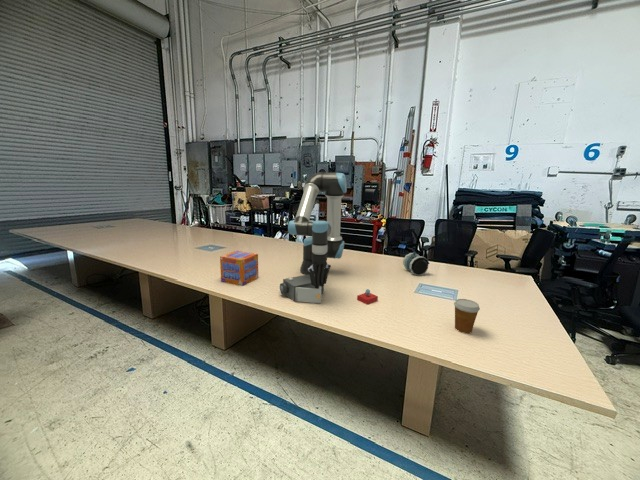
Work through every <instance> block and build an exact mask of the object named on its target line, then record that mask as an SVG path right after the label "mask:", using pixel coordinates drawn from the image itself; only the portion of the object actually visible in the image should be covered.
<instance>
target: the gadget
mask: <svg viewBox="0 0 640 480" xmlns="http://www.w3.org/2000/svg"><path fill="white" fill-rule="evenodd" d="M429 264H430V261H429V259H427V258H426V257H424V256H422V255H421V256H420V255H419V254H418V253H417V252H416V251H413V252H409V253H408V254H405V256H404V257H403V259H402V265H403V266H404V268H405V270H407V271H409V272H411V273H412V274H413V275H415V276H422V275H424V274H425V273H426V272H427V271H428V269H429Z"/></svg>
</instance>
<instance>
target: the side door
mask: <svg viewBox="0 0 640 480" xmlns="http://www.w3.org/2000/svg"><path fill="white" fill-rule="evenodd" d="M321 301H322V295H321V289H316V288H302V287H295V301H294V302H301V303H302V302H303V303H305V302H306V303H314V304H315V303H316V304H321V303H322V302H321Z"/></svg>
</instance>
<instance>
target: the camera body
mask: <svg viewBox="0 0 640 480" xmlns="http://www.w3.org/2000/svg"><path fill="white" fill-rule="evenodd" d="M314 277H315V275H314ZM295 287H302V288H315V286H313V285H312V284H311V280H310V275H309V274H308V275H307V274H303V275H299V276H293V277H287V278H283V279H282V283H280V284H279V291H280V293H281V295H285V296H286V297H287V298H289V299H290V300H291V301H293V302H296V301H295ZM322 290H323V291H322V292H321V296H322V295H324V290H325V285H324V286H323V289H322Z"/></svg>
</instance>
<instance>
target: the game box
mask: <svg viewBox="0 0 640 480" xmlns="http://www.w3.org/2000/svg"><path fill="white" fill-rule="evenodd" d="M219 257H220V258H219V267H220V268H219V269H220V282H221V283H225V284H230V285H231V284H232V285H236V286H240V287H243V286H246V285H247V283H248V284H249V283H252V282H253V281H255V280H257V279H259V253H255V252H248V251H242V250H236V251H233V252H229V253H225V254H222V255H220V256H219Z"/></svg>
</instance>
